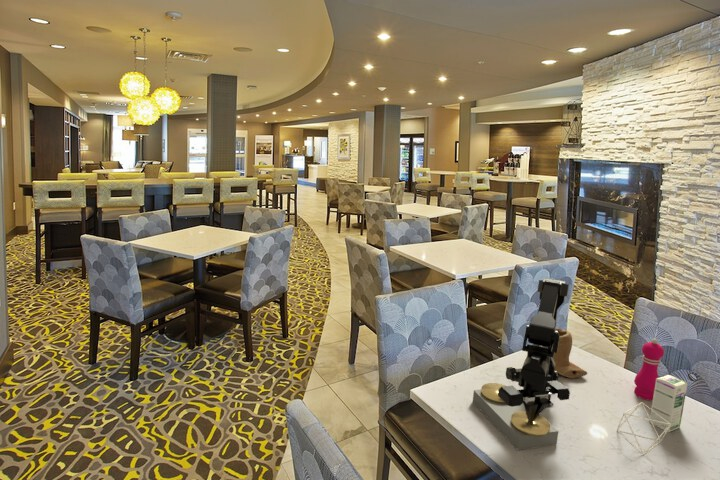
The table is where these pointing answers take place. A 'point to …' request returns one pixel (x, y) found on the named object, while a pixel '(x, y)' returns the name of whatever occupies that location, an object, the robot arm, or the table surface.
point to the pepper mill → (648, 370)
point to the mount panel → (502, 421)
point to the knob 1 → (492, 392)
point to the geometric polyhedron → (643, 436)
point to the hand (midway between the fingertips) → (530, 421)
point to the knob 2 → (530, 424)
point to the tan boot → (566, 357)
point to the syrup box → (668, 402)
